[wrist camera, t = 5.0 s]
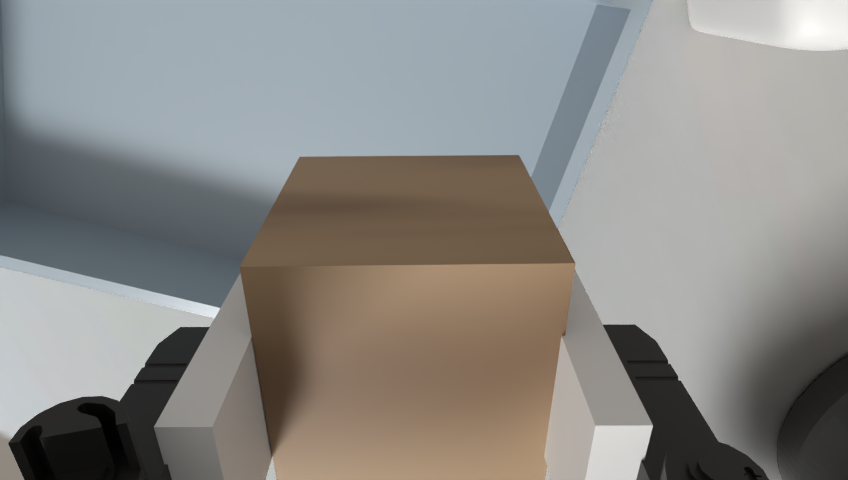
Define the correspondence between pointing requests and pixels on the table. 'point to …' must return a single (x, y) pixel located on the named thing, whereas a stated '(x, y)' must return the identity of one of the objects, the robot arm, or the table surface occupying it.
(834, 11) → the eye dropper bottle
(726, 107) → the table surface
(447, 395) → the walnut cube
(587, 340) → the robot arm
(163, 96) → the tray
